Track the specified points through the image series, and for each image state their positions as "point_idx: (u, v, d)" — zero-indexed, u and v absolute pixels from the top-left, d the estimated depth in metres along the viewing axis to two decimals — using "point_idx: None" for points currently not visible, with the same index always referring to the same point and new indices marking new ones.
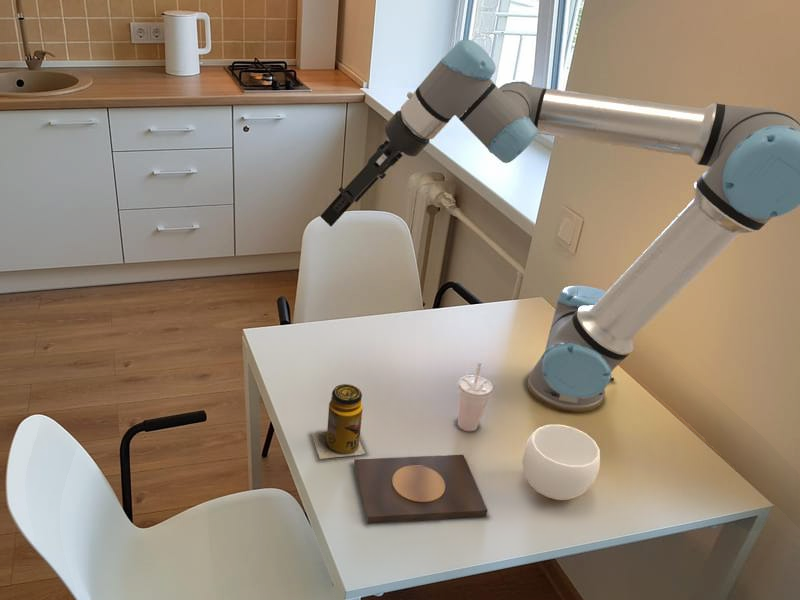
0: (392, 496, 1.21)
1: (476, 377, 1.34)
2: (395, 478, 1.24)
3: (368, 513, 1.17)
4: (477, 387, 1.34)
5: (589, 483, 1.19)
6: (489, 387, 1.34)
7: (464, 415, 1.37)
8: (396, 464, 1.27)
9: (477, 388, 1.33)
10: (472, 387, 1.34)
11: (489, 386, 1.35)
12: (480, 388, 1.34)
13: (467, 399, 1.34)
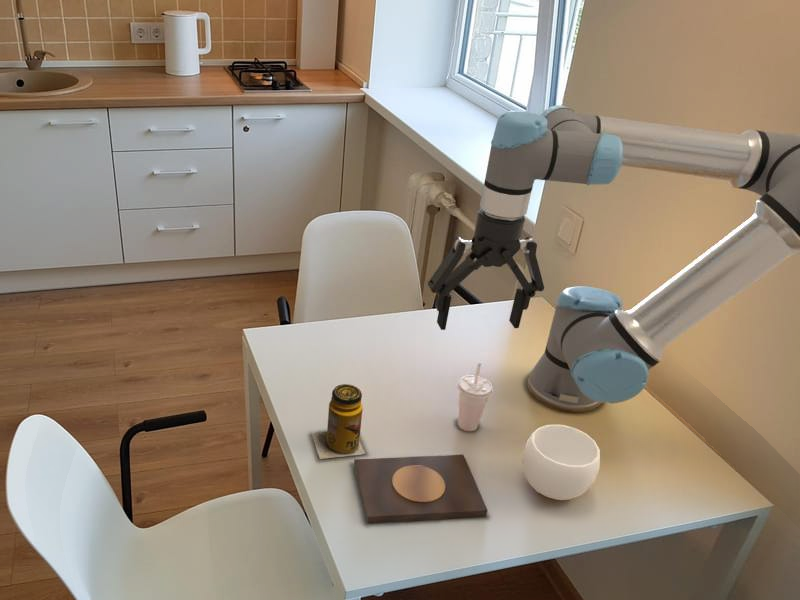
0: (392, 496, 1.21)
1: (476, 377, 1.34)
2: (395, 478, 1.24)
3: (368, 513, 1.17)
4: (477, 387, 1.34)
5: (589, 483, 1.19)
6: (489, 387, 1.34)
7: (464, 415, 1.37)
8: (396, 464, 1.27)
9: (477, 388, 1.33)
10: (472, 387, 1.34)
11: (489, 386, 1.35)
12: (480, 388, 1.34)
13: (467, 399, 1.34)
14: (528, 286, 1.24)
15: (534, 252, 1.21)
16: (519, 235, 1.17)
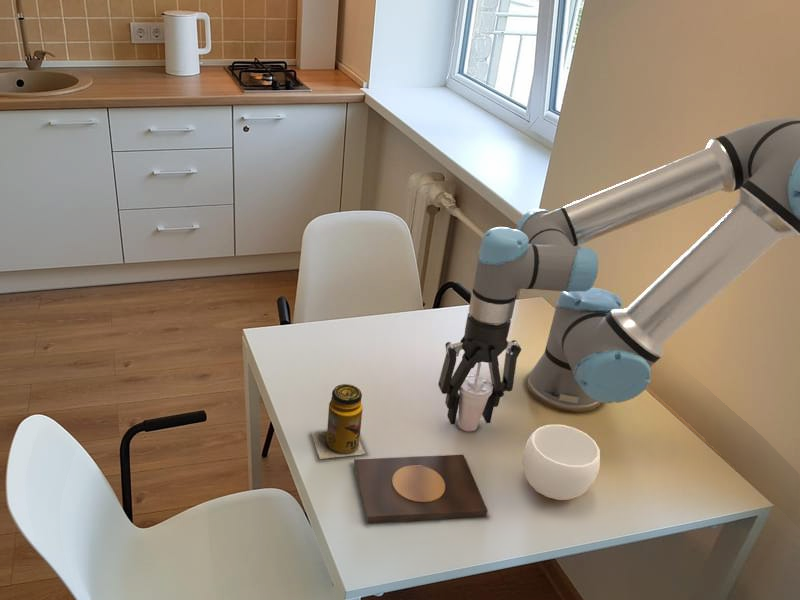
0: (392, 496, 1.21)
1: (476, 377, 1.34)
2: (395, 478, 1.24)
3: (368, 513, 1.17)
4: (477, 387, 1.34)
5: (589, 483, 1.19)
6: (489, 387, 1.34)
7: (464, 415, 1.37)
8: (396, 464, 1.27)
9: (477, 388, 1.33)
10: (472, 387, 1.34)
11: (489, 386, 1.35)
12: (480, 388, 1.34)
13: (467, 399, 1.34)
14: (499, 386, 1.34)
15: (516, 355, 1.31)
16: (505, 337, 1.26)
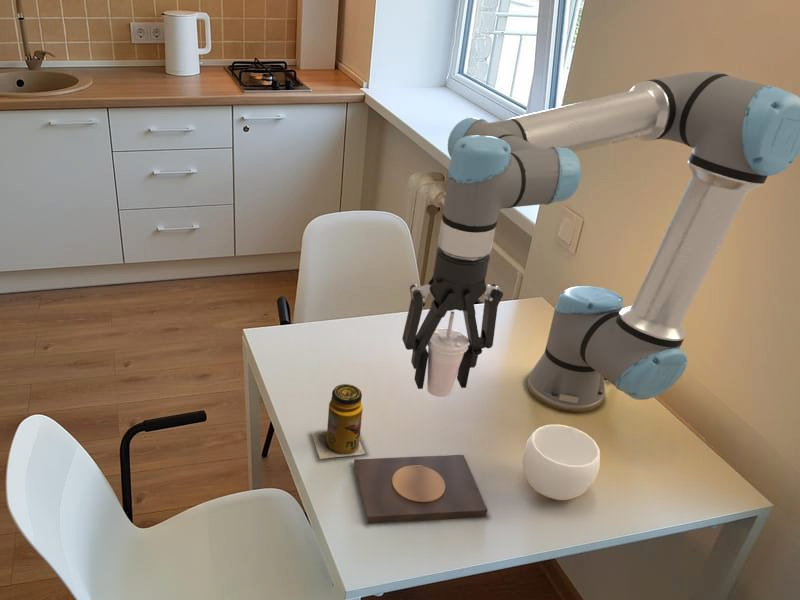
0: (392, 496, 1.21)
1: (449, 330, 1.10)
2: (395, 478, 1.24)
3: (368, 513, 1.17)
4: (449, 342, 1.09)
5: (589, 483, 1.19)
6: (464, 342, 1.10)
7: (434, 377, 1.12)
8: (396, 464, 1.27)
9: (449, 343, 1.09)
10: (443, 341, 1.10)
11: (464, 341, 1.10)
12: (453, 343, 1.10)
13: (437, 355, 1.10)
14: (477, 342, 1.10)
15: (497, 302, 1.06)
16: (483, 276, 1.02)
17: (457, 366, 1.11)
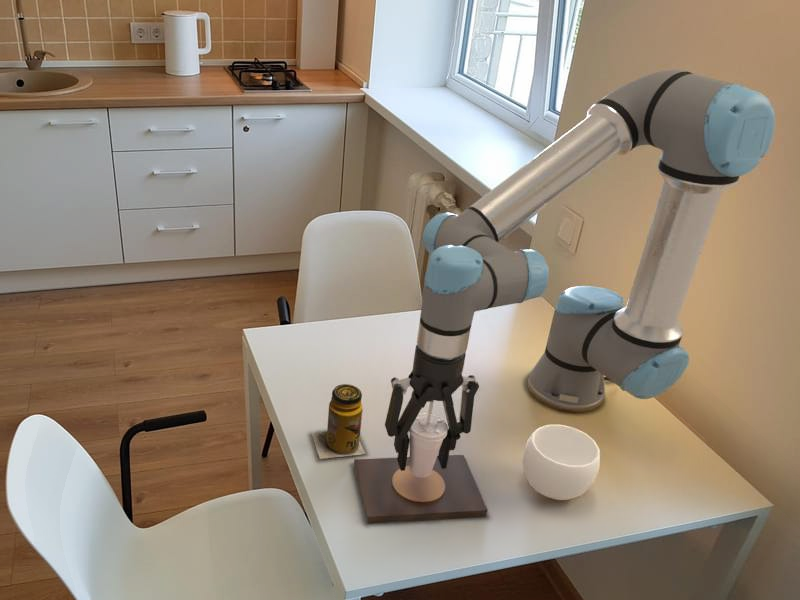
0: (392, 496, 1.21)
1: (428, 417, 1.16)
2: (395, 478, 1.24)
3: (368, 513, 1.17)
4: (429, 428, 1.15)
5: (589, 483, 1.19)
6: (443, 428, 1.16)
7: (416, 460, 1.18)
8: (396, 464, 1.27)
9: (429, 430, 1.15)
10: (424, 428, 1.16)
11: (444, 427, 1.16)
12: (433, 429, 1.16)
13: (418, 442, 1.16)
14: (455, 428, 1.16)
15: (473, 393, 1.12)
16: (459, 373, 1.08)
17: (437, 450, 1.17)
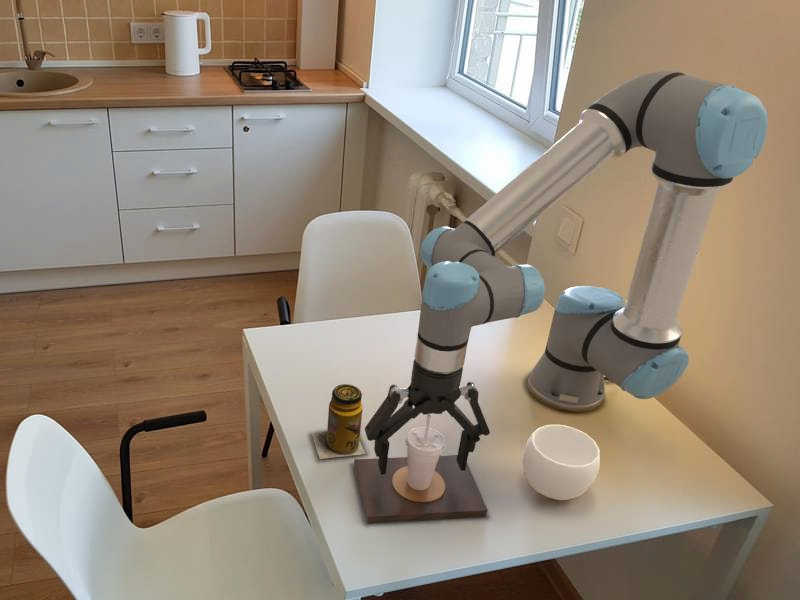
0: (392, 496, 1.21)
1: (426, 431, 1.18)
2: (395, 478, 1.24)
3: (368, 513, 1.17)
4: (427, 442, 1.17)
5: (589, 483, 1.19)
6: (441, 442, 1.18)
7: (414, 473, 1.20)
8: (396, 464, 1.27)
9: (427, 444, 1.17)
10: (421, 442, 1.17)
11: (441, 441, 1.18)
12: (430, 443, 1.17)
13: (416, 455, 1.17)
14: (472, 431, 1.17)
15: (476, 399, 1.13)
16: (456, 386, 1.09)
17: (434, 464, 1.19)
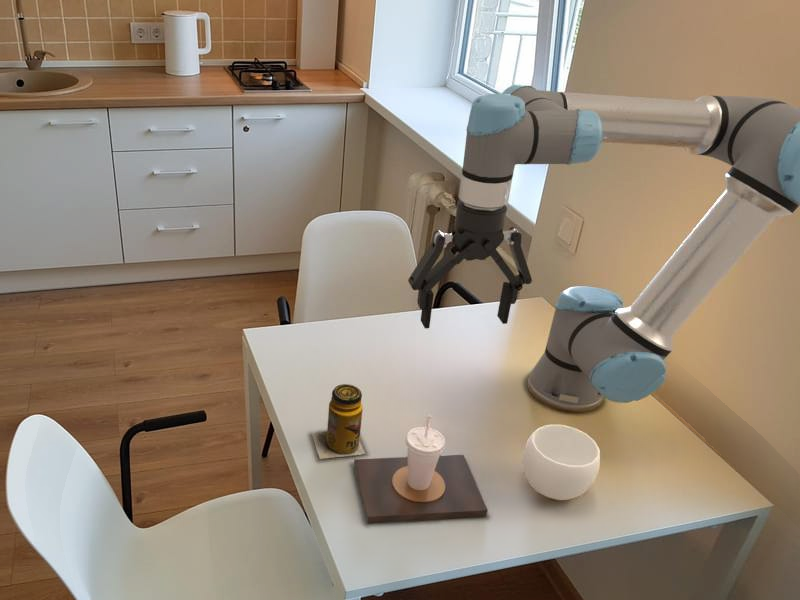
0: (392, 496, 1.21)
1: (426, 431, 1.18)
2: (395, 478, 1.24)
3: (368, 513, 1.17)
4: (427, 442, 1.17)
5: (589, 483, 1.19)
6: (441, 442, 1.18)
7: (414, 473, 1.20)
8: (396, 464, 1.27)
9: (427, 444, 1.17)
10: (421, 442, 1.17)
11: (441, 441, 1.18)
12: (430, 443, 1.17)
13: (416, 455, 1.17)
14: (515, 279, 1.18)
15: (519, 243, 1.14)
16: (501, 226, 1.10)
17: (434, 464, 1.19)
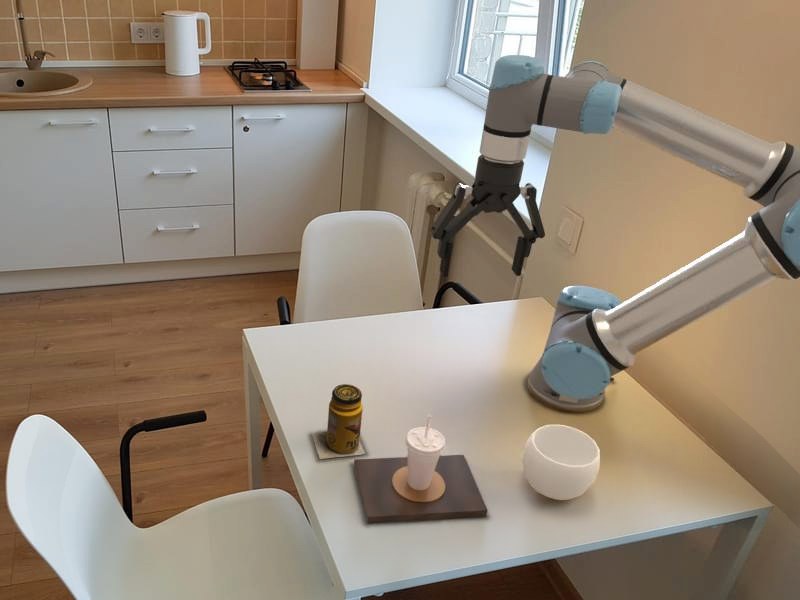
0: (392, 496, 1.21)
1: (426, 431, 1.18)
2: (395, 478, 1.24)
3: (368, 513, 1.17)
4: (427, 442, 1.17)
5: (589, 483, 1.19)
6: (441, 442, 1.18)
7: (414, 473, 1.20)
8: (396, 464, 1.27)
9: (427, 444, 1.17)
10: (421, 442, 1.17)
11: (441, 441, 1.18)
12: (430, 443, 1.17)
13: (416, 455, 1.17)
14: (529, 233, 1.26)
15: (534, 198, 1.23)
16: (518, 179, 1.19)
17: (434, 464, 1.19)
